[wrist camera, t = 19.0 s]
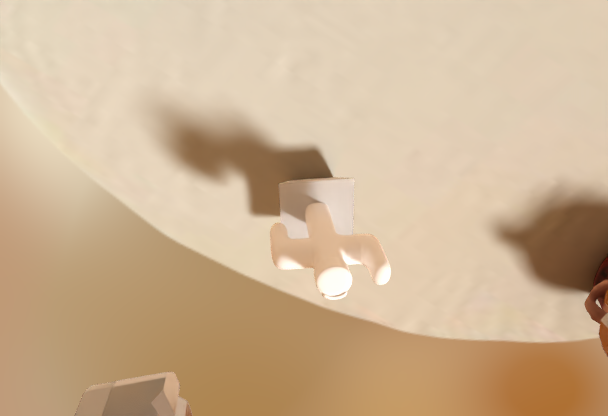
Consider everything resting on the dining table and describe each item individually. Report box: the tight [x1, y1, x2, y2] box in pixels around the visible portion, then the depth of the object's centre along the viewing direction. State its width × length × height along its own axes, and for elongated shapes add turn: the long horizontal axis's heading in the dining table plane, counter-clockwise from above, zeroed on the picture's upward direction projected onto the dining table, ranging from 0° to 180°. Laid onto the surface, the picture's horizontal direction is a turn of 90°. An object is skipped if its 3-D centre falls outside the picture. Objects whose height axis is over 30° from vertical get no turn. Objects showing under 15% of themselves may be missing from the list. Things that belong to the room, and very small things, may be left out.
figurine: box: [270, 177, 391, 300], centre depth 42 cm, size 7×9×15 cm
